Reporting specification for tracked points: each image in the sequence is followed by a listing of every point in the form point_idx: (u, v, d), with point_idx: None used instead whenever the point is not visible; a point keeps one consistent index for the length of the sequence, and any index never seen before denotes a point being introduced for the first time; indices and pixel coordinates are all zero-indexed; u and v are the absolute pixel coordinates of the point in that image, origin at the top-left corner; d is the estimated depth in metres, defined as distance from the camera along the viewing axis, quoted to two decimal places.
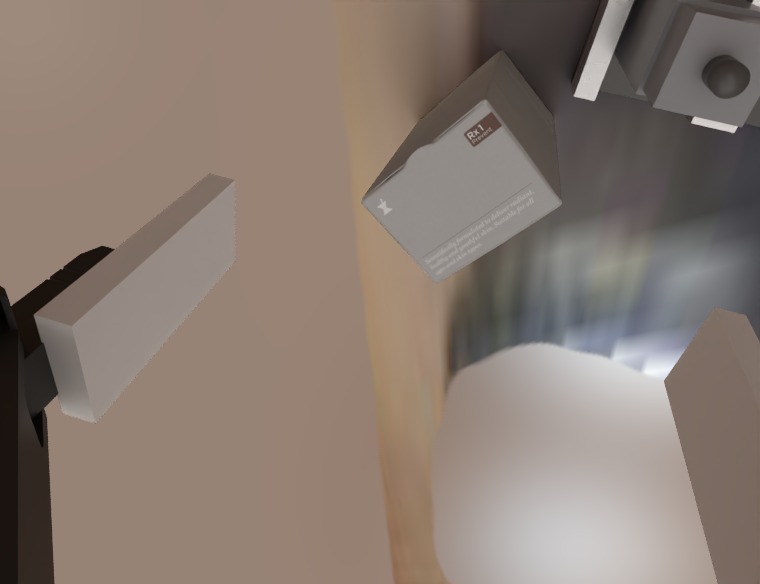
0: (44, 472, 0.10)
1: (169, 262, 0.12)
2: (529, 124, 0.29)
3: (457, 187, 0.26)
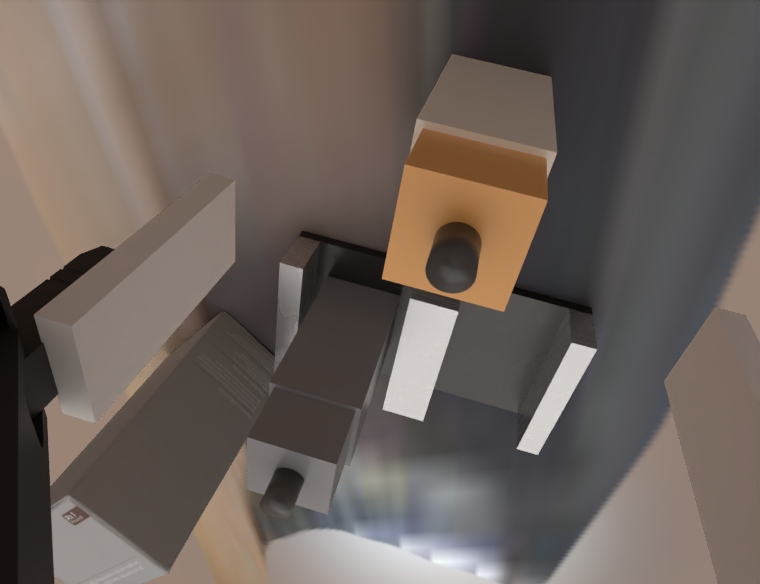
0: (44, 472, 0.10)
1: (169, 261, 0.12)
2: (178, 455, 0.29)
3: (75, 548, 0.27)
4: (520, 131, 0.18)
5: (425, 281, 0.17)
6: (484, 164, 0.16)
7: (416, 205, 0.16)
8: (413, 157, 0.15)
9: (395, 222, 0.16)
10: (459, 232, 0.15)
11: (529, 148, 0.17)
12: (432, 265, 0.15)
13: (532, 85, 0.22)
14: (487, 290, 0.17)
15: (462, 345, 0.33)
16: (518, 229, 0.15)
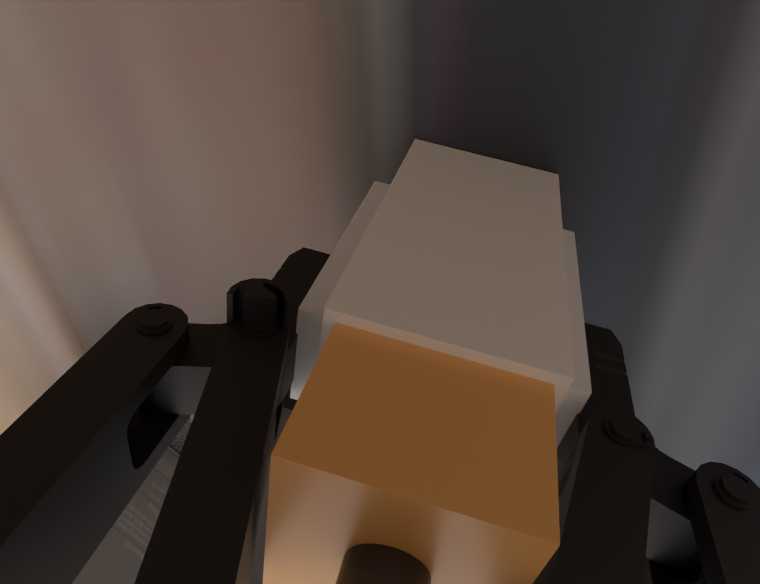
0: None
1: None
2: None
3: None
4: (508, 319, 0.10)
5: None
6: (437, 426, 0.08)
7: (304, 512, 0.08)
8: (296, 424, 0.08)
9: (270, 526, 0.09)
10: None
11: (524, 367, 0.09)
12: None
13: (530, 196, 0.15)
14: None
15: None
16: (501, 572, 0.08)
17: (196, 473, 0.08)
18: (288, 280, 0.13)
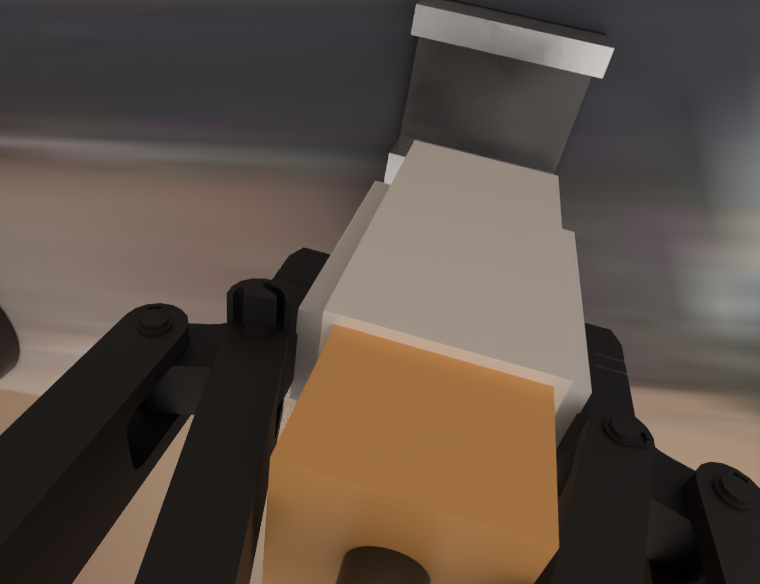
0: None
1: None
2: None
3: None
4: (508, 321, 0.10)
5: None
6: (436, 429, 0.08)
7: (303, 514, 0.08)
8: (295, 427, 0.08)
9: (269, 529, 0.09)
10: None
11: (523, 369, 0.09)
12: None
13: (530, 197, 0.15)
14: None
15: (484, 136, 0.30)
16: (500, 575, 0.08)
17: (196, 473, 0.08)
18: (288, 280, 0.13)
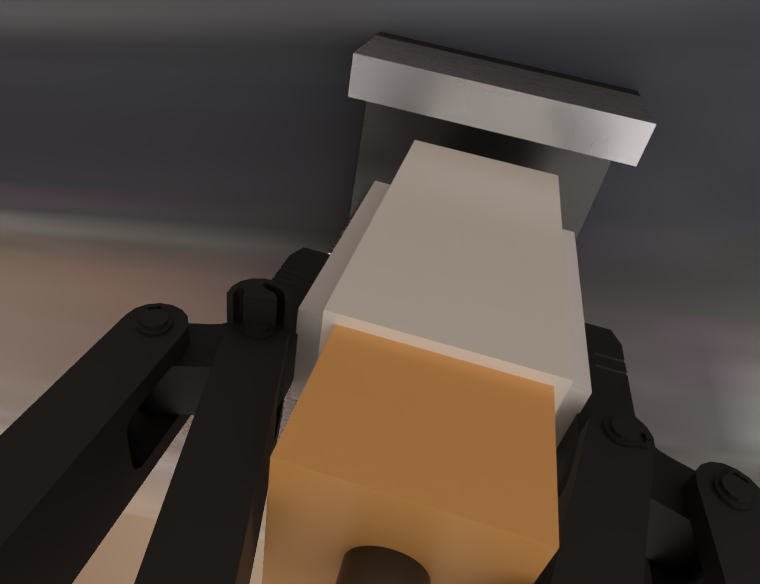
0: None
1: None
2: None
3: None
4: (508, 321, 0.10)
5: None
6: (436, 428, 0.08)
7: (303, 514, 0.08)
8: (295, 427, 0.08)
9: (270, 529, 0.09)
10: None
11: (523, 369, 0.09)
12: None
13: (530, 197, 0.15)
14: None
15: None
16: (500, 575, 0.08)
17: (196, 473, 0.08)
18: (288, 280, 0.13)
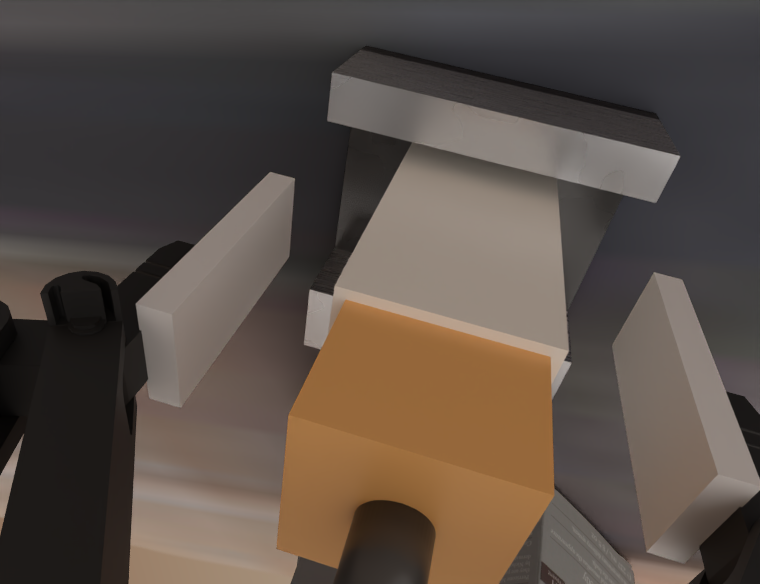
0: (130, 459, 0.10)
1: (243, 256, 0.13)
2: None
3: None
4: (508, 297, 0.11)
5: None
6: (441, 392, 0.09)
7: (318, 470, 0.09)
8: (310, 389, 0.09)
9: (286, 486, 0.09)
10: (390, 537, 0.08)
11: (521, 340, 0.10)
12: None
13: (529, 186, 0.15)
14: None
15: None
16: (500, 525, 0.08)
17: (38, 484, 0.07)
18: (150, 274, 0.12)
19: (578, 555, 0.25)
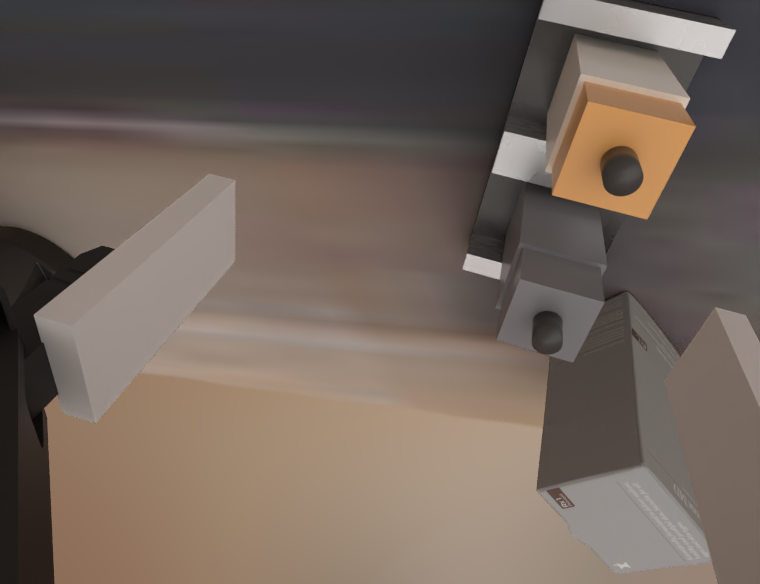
0: (44, 472, 0.10)
1: (169, 261, 0.12)
2: (587, 409, 0.32)
3: (611, 523, 0.29)
4: (656, 84, 0.23)
5: (587, 196, 0.23)
6: (640, 104, 0.21)
7: (591, 133, 0.21)
8: (590, 97, 0.21)
9: (571, 148, 0.22)
10: (626, 151, 0.21)
11: (668, 95, 0.22)
12: (609, 173, 0.20)
13: (647, 56, 0.28)
14: (636, 201, 0.22)
15: None
16: (669, 150, 0.21)
17: None
18: (65, 282, 0.12)
19: (652, 336, 0.37)
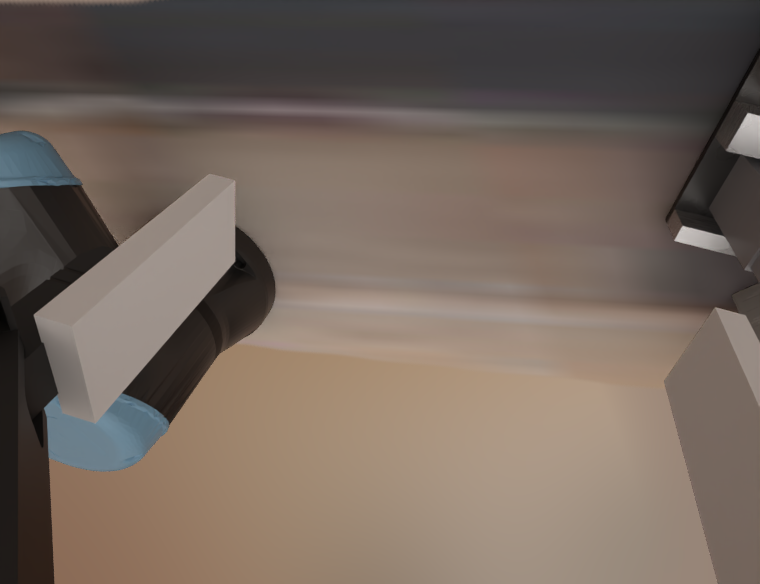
0: (44, 472, 0.10)
1: (169, 262, 0.12)
2: None
3: None
4: None
5: None
6: None
7: None
8: None
9: None
10: None
11: None
12: None
13: None
14: None
15: None
16: None
17: None
18: (65, 282, 0.12)
19: None
